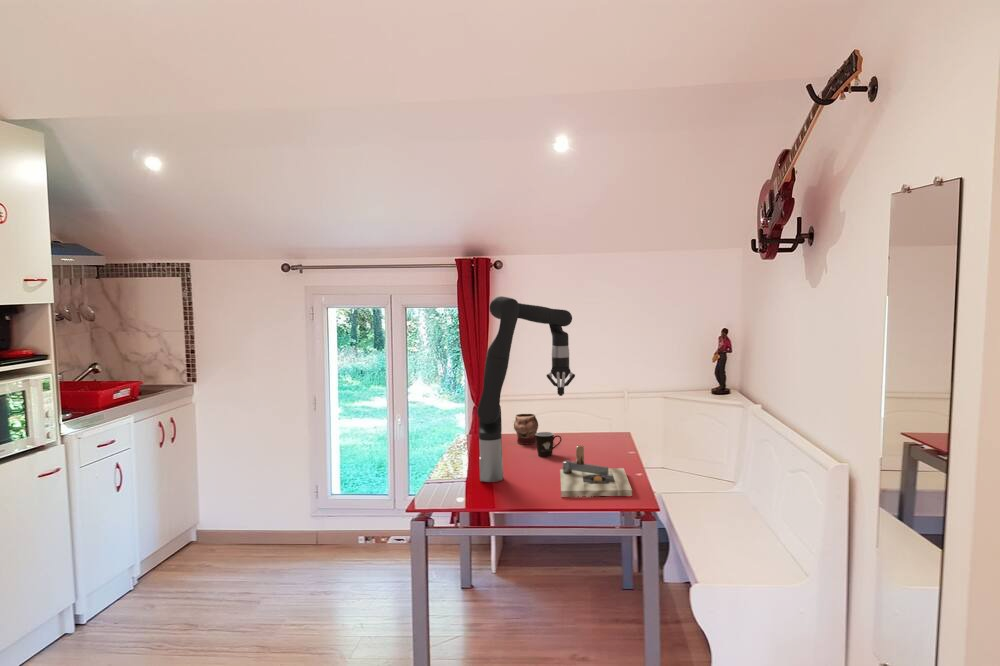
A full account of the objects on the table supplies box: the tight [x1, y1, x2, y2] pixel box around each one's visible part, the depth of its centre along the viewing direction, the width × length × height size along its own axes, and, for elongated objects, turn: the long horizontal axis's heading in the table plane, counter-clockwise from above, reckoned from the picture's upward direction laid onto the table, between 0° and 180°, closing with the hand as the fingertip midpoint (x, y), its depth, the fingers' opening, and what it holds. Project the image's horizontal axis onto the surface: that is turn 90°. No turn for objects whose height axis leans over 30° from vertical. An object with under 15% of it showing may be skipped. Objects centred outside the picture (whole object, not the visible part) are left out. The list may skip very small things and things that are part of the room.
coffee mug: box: [535, 431, 562, 458], centre depth 305 cm, size 12×9×10 cm
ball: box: [593, 476, 602, 481], centre depth 260 cm, size 4×4×4 cm
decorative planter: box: [513, 413, 539, 445], centre depth 333 cm, size 20×12×14 cm, turn 173°
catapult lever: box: [562, 445, 609, 475], centre depth 264 cm, size 20×4×11 cm, turn 55°
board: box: [559, 467, 633, 498], centre depth 259 cm, size 26×28×2 cm
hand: (560, 395), depth 288 cm, fingers closed
